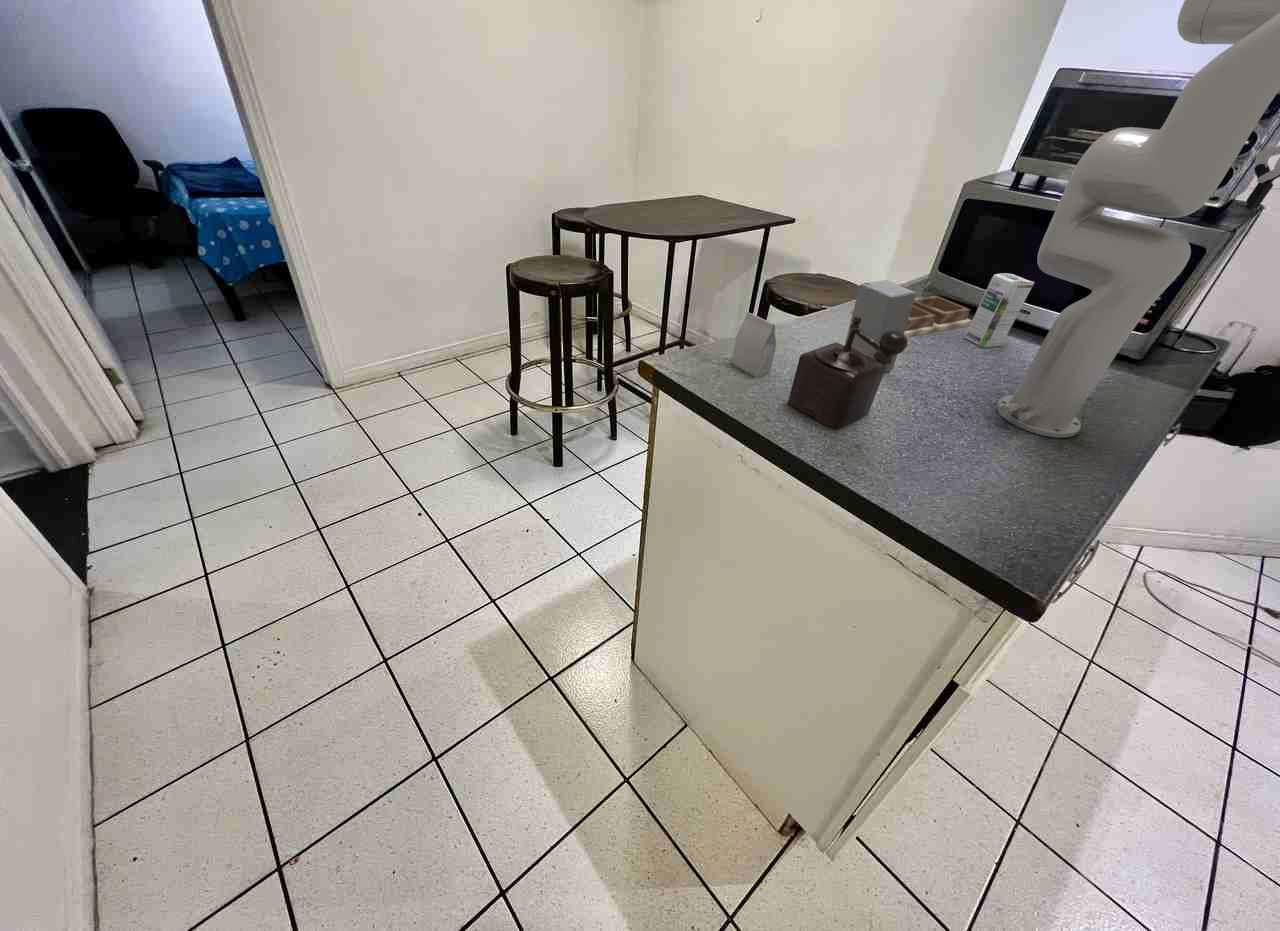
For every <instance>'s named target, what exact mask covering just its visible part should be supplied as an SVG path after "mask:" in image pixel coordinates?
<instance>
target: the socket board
mask: <svg viewBox="0 0 1280 931" xmlns="http://www.w3.org/2000/svg"><path fill="white" fill-rule="evenodd" d="M853 310H854V307H853V308H851V310H850V314H853ZM970 312H971V309H970V308H968V307H965V306H964V305H961V304H958V303H956V302H953V301H950V300H949V299H946V298H943V297H941V296H938V295H931V296H930V295H929V296H924V297H915V300H914V303H913V306H912V309H911V313H910V316H909V319H908V322H907V325H906V328H905V332H904V336H905V337H906V338H909V337H914V336H920V335H925V334H929V333H935V332H940V331H947V330H951V329H957V328H961V327H965V326H967V327H968V326H970V324H971V322H972V320H973V319H970V318H968V316H969V315H970Z"/></svg>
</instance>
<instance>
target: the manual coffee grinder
mask: <svg viewBox="0 0 1280 931" xmlns="http://www.w3.org/2000/svg"><path fill="white" fill-rule="evenodd" d="M861 321H862V320H861V317H860V316H856V317H854V318H853V324H851V325H850V324H849V326H850V327H849V326H848V329H849V328H850V334H849V337H848V340H847V342H846V341H845V342H846V344H845V343H844V344H841V343H839V342H833V343H831V344H830V343H829V344H827V345H824V346H821V347H818V348H815V349H813V350H809V351H806V352H805V353H802V354H800V356H799V358H798V363H797V367H796V370H795V375H794V378H793V382H792V385H791V388H790V393H789V397H788V401H787V403H786V404H787V405H788V406H790V407H791V408H793V409H794V410H797V411H798V412H799V413H801V414H802V415H805V416H806V417H808V418H809V419H811V420H815V421H816V422H819V423H821V424H823V425H824V426H826V427H830V428H832V429H834V430H839V429H841V428H845V427H847V426H849V425H851V424H853V423H856V422H857V421H860V420H862V419H863V418H864V417H865V416H867V415H868V414H869V412H870V411H871V408H872V405H873V402H874V400H875V396H876V394H877V392H878V389H879V387H880V384H881V382H882V380H883V377H884V375H885V373H886V372H885V370H886V367H887V365H889V364H891V363H892V358H893V356H895V355H896V354H897V355H898V354H902V353H903V352H904V351H905V349H906V348H907V347H908V341H909V340H908V337H905V336H904V334H903V333H901V332H900V331H897V330H890V331H887V332H884V333H883V334H882V335H881V337H880V340H879V343H878V342H876V341H875V340H874V339H872V338H871V337H869V336H868V335H866V334H865V333H864V332H862V331H861V330H860V329H859V327H860V326H859V324H860V323H861ZM855 334H857V335H858V336H859V337H860V338H861V339H863V340H864V341H865V342H867V343H868V344H870V345H871V346H873V347H874V348H875V349H877V350H878V351H877V352H875V353H874V356H873V357H874V358H875V359H873V358H871V357H869V356H866V355H864V354H862V353H861V352H859V351H858V350H856V349H854V348H852V343H853V340H854V337H855Z"/></svg>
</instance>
